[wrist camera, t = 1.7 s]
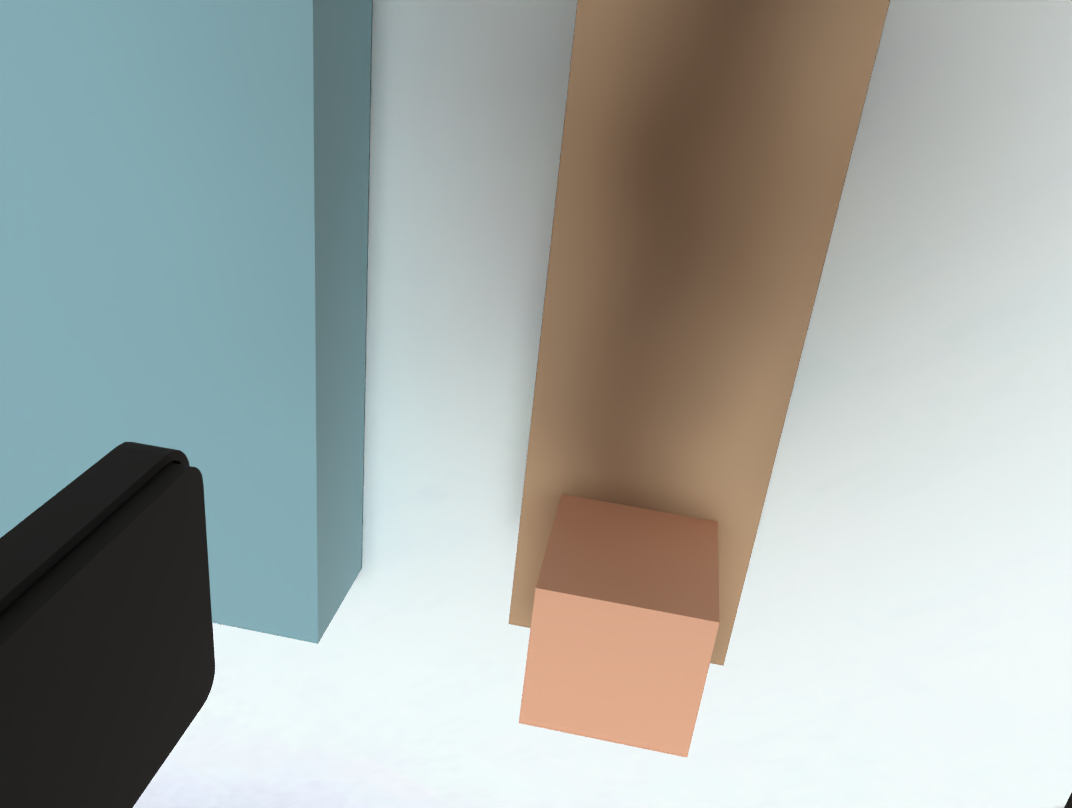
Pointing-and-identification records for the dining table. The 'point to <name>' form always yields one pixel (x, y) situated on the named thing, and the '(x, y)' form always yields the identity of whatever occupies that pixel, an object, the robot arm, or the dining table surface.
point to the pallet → (688, 258)
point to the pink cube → (623, 625)
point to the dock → (193, 273)
